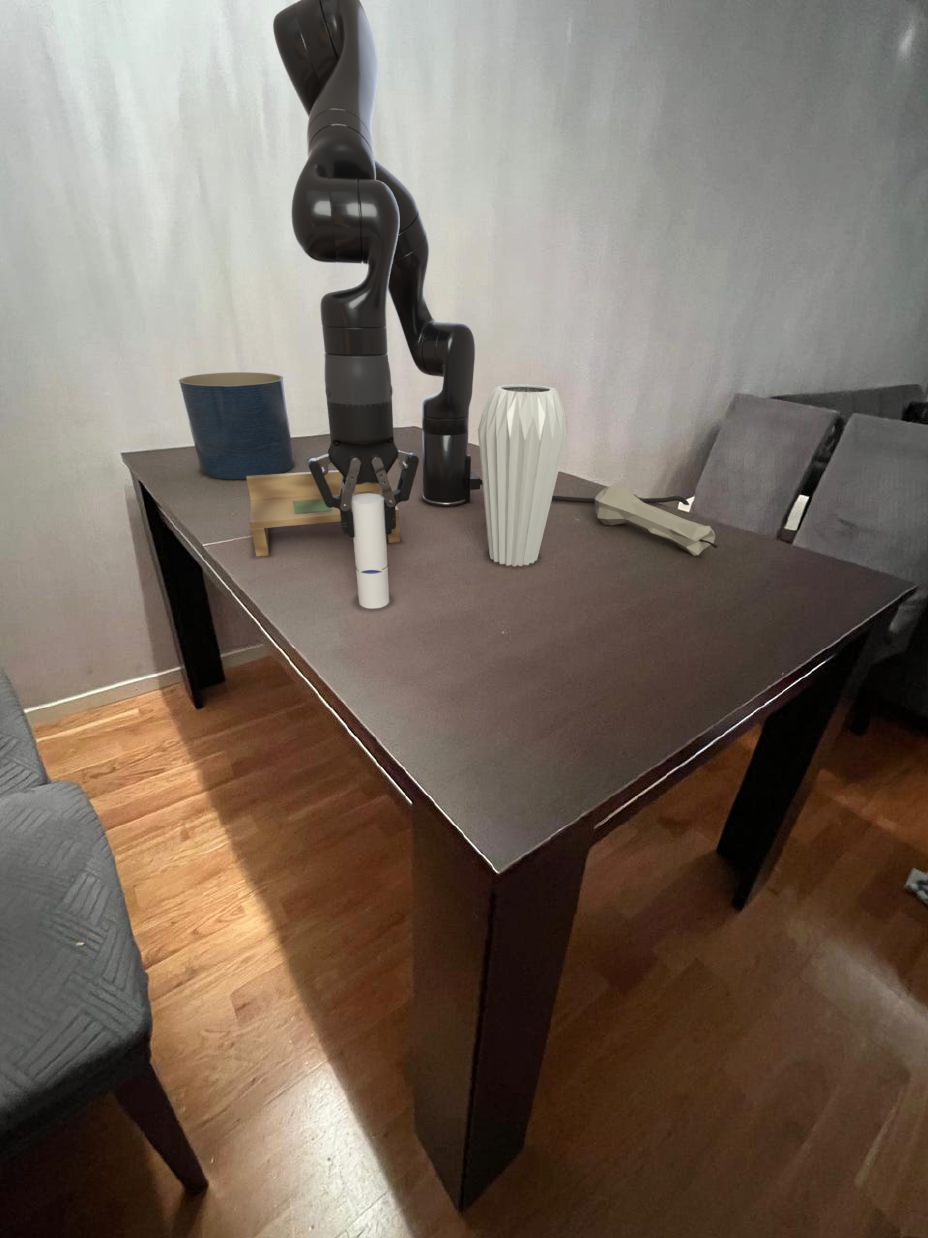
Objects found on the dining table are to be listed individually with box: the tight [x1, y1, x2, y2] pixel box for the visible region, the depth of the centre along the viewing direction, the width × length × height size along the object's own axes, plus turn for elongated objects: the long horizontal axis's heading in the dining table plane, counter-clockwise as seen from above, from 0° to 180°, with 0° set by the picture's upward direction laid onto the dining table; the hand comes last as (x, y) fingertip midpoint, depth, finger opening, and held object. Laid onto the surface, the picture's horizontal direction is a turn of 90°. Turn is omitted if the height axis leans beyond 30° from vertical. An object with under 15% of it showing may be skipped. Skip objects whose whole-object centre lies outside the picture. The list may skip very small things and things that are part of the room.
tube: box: [351, 493, 390, 610], centre depth 74 cm, size 4×4×15 cm
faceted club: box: [594, 480, 719, 557], centre depth 98 cm, size 9×8×25 cm
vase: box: [477, 383, 568, 568], centre depth 85 cm, size 13×13×26 cm
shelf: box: [246, 469, 401, 558], centre depth 95 cm, size 24×12×10 cm, turn 108°
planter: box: [178, 371, 294, 481], centre depth 129 cm, size 22×22×20 cm
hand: (369, 533), depth 72 cm, fingers closed on tube, 4 cm apart
